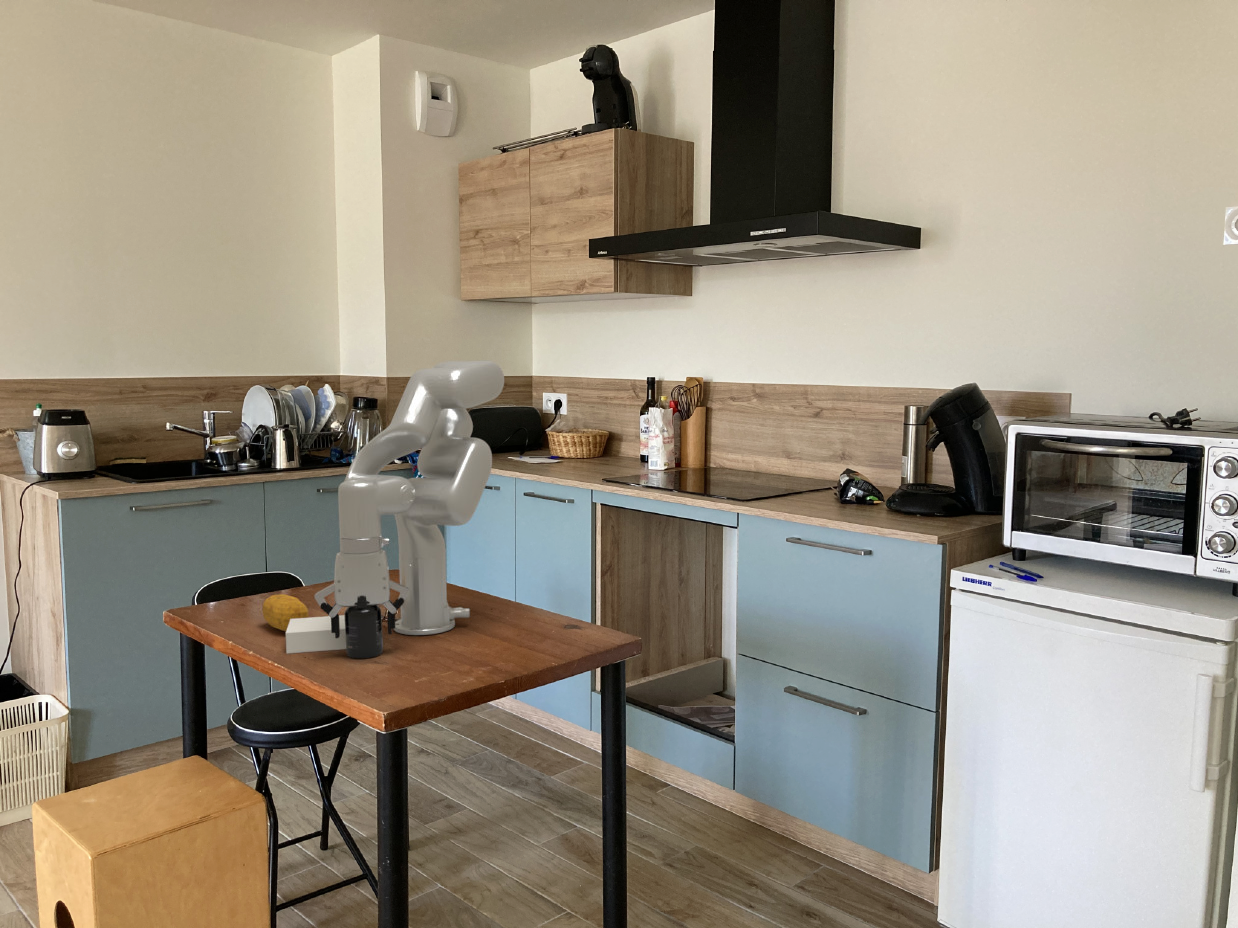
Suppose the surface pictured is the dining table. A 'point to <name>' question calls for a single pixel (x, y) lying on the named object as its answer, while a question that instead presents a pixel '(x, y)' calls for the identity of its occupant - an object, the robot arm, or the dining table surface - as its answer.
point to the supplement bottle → (363, 630)
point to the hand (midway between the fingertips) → (363, 634)
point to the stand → (314, 635)
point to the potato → (283, 610)
